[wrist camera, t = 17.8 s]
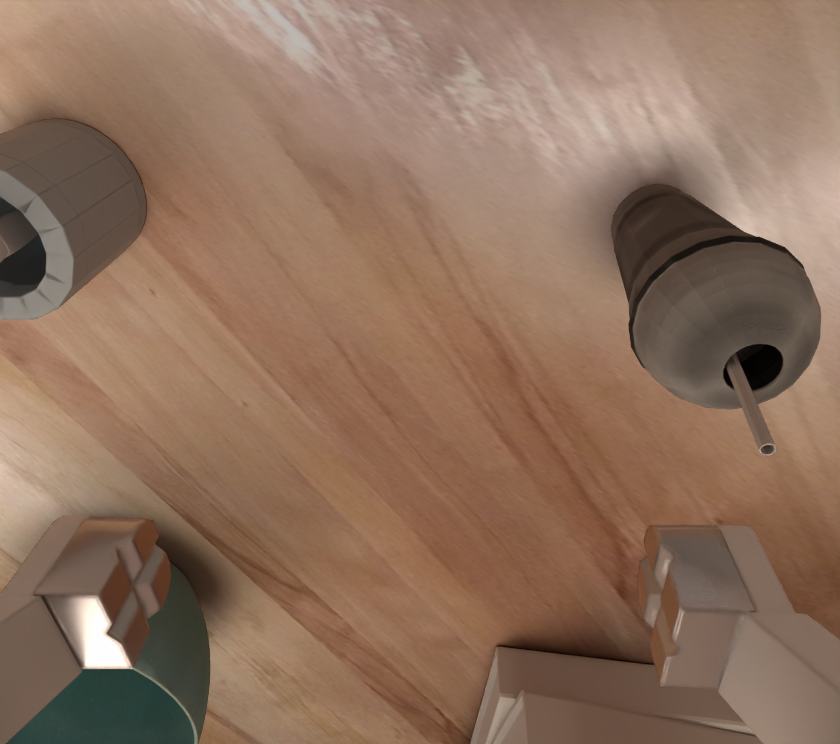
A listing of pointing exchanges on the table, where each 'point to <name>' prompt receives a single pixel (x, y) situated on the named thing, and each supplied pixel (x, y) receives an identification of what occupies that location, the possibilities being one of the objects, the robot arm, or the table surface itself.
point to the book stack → (597, 704)
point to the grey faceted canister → (64, 212)
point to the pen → (14, 233)
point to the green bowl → (138, 687)
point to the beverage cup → (713, 305)
